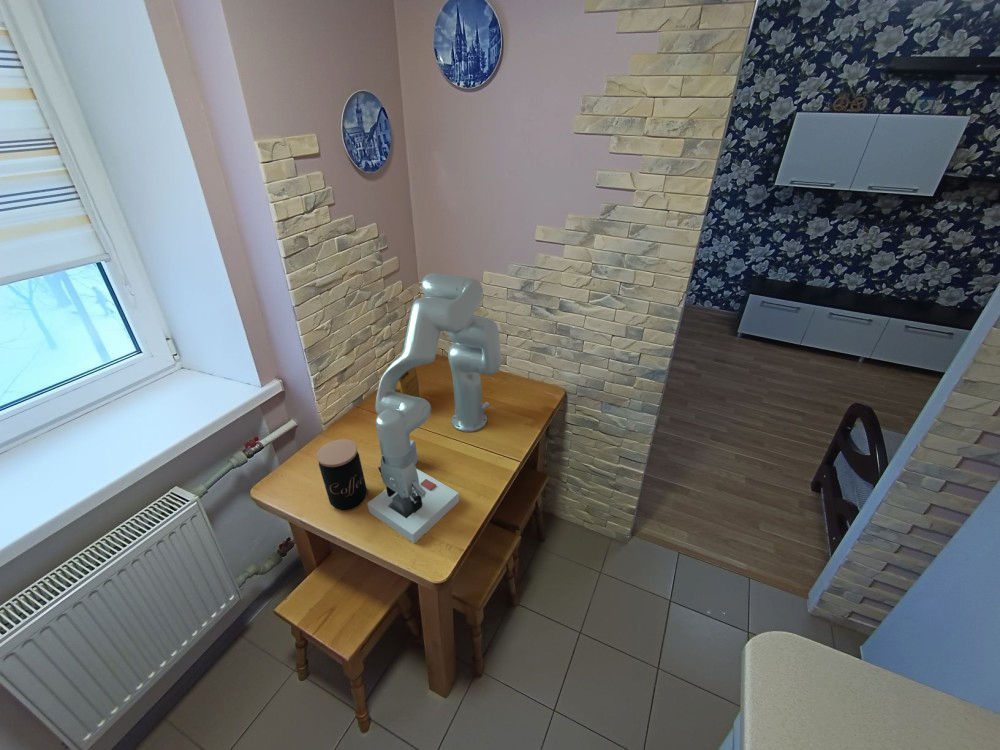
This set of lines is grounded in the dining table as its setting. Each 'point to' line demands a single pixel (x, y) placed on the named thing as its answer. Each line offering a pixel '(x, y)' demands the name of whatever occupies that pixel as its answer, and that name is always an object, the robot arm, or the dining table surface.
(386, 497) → the socket plate
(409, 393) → the coffee package
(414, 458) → the medicine box
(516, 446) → the dining table surface
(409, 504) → the plug
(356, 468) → the coffee jar
